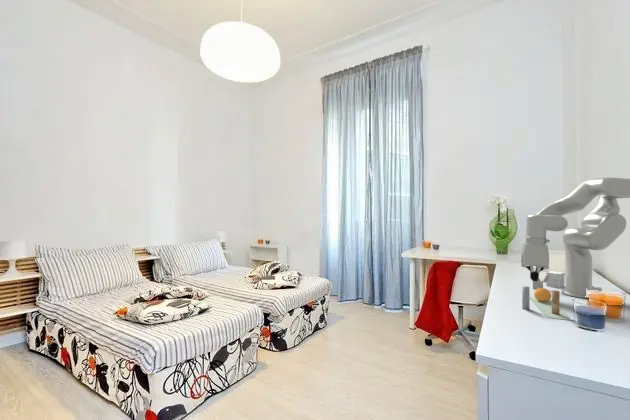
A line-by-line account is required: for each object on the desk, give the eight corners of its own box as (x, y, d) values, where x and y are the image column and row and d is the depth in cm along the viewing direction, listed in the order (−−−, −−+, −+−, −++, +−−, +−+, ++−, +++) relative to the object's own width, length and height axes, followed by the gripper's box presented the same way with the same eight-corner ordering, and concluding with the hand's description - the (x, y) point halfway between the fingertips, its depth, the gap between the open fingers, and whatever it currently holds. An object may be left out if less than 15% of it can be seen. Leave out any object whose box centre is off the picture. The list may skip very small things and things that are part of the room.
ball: (543, 299, 137) (543, 286, 137) (554, 303, 131) (554, 289, 131) (530, 299, 137) (530, 286, 137) (540, 303, 131) (540, 289, 131)
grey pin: (526, 307, 126) (526, 286, 126) (530, 309, 123) (530, 287, 123) (520, 307, 126) (520, 286, 126) (525, 309, 123) (525, 287, 123)
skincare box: (550, 284, 165) (550, 270, 165) (564, 286, 159) (564, 272, 159) (546, 286, 161) (546, 272, 161) (560, 288, 156) (560, 274, 156)
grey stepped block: (532, 288, 156) (532, 273, 156) (532, 288, 157) (532, 272, 157) (550, 291, 151) (550, 274, 151) (550, 290, 153) (550, 274, 153)
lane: (528, 297, 140) (528, 297, 140) (549, 299, 137) (549, 299, 137) (547, 317, 114) (547, 317, 114) (574, 320, 111) (574, 320, 111)
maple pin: (556, 313, 119) (556, 289, 119) (561, 315, 117) (561, 291, 117) (550, 313, 119) (550, 290, 119) (554, 315, 117) (554, 291, 117)
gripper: (552, 241, 143) (551, 281, 143) (515, 239, 149) (513, 277, 149) (558, 243, 136) (556, 284, 136) (518, 240, 142) (517, 280, 142)
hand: (534, 280), depth 142 cm, fingers closed
